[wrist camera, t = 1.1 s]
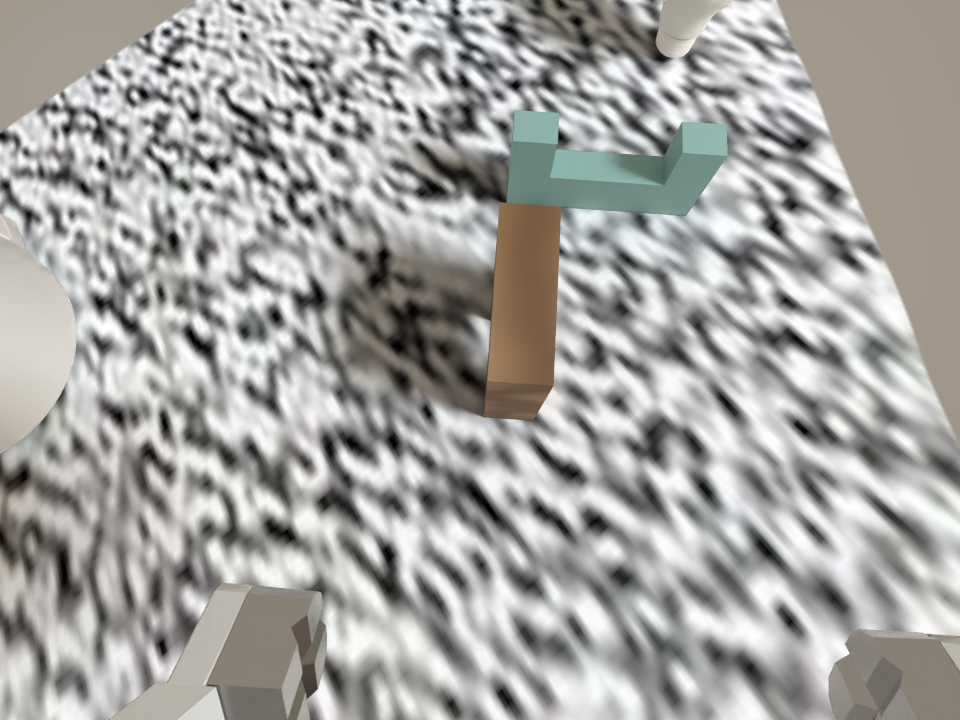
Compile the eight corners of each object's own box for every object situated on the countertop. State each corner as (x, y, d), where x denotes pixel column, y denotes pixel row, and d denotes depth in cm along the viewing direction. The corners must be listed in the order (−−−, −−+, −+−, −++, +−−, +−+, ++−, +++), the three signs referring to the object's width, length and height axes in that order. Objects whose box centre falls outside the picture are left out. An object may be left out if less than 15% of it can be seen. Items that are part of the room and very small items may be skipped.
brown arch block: (483, 417, 38) (487, 381, 28) (493, 279, 40) (499, 202, 31) (532, 420, 38) (553, 385, 28) (539, 282, 40) (560, 206, 31)
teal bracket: (506, 203, 42) (512, 140, 35) (508, 176, 42) (514, 110, 35) (686, 215, 42) (727, 155, 35) (685, 188, 42) (726, 124, 35)
